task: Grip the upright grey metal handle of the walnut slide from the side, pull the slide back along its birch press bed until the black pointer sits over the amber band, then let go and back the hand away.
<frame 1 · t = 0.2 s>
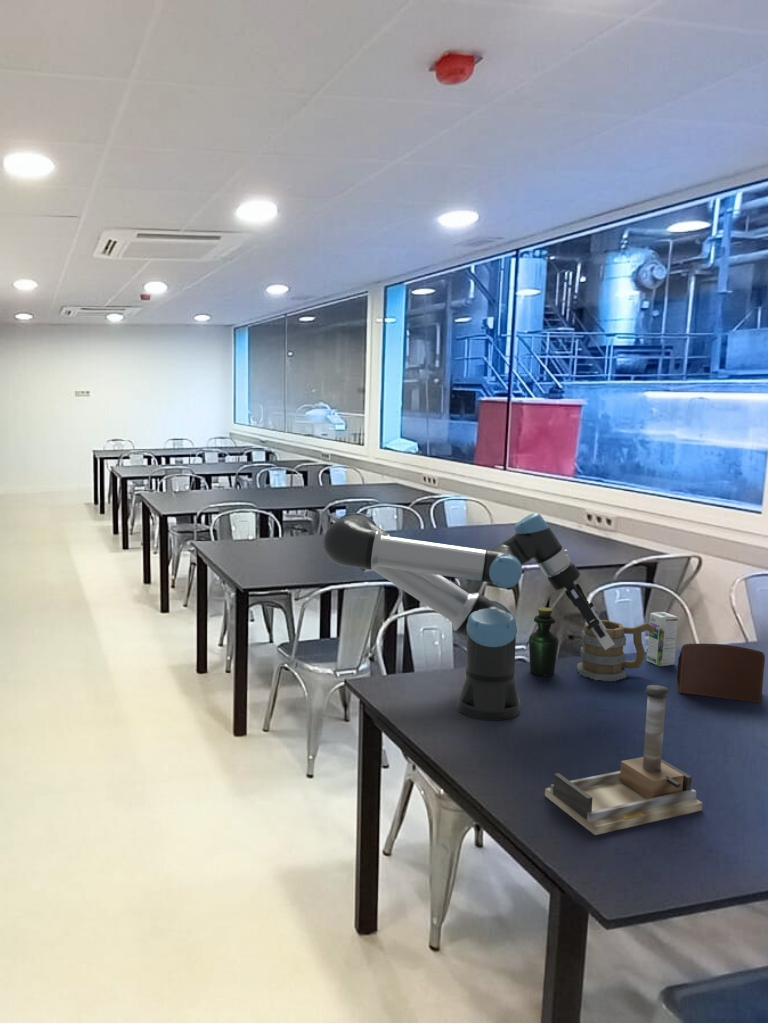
hand: (605, 638, 203), 15 cm above the table, tool tilted 35°, fingers open, 13 cm apart
letter holder: (717, 693, 211), on the table
tankard: (614, 675, 223), on the table
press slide: (658, 741, 150), point 12 cm above the table, slide at 0.0 cm
press bed: (649, 797, 153), on the table
syrup box: (660, 663, 234), on the table
potion bottle: (542, 673, 223), on the table
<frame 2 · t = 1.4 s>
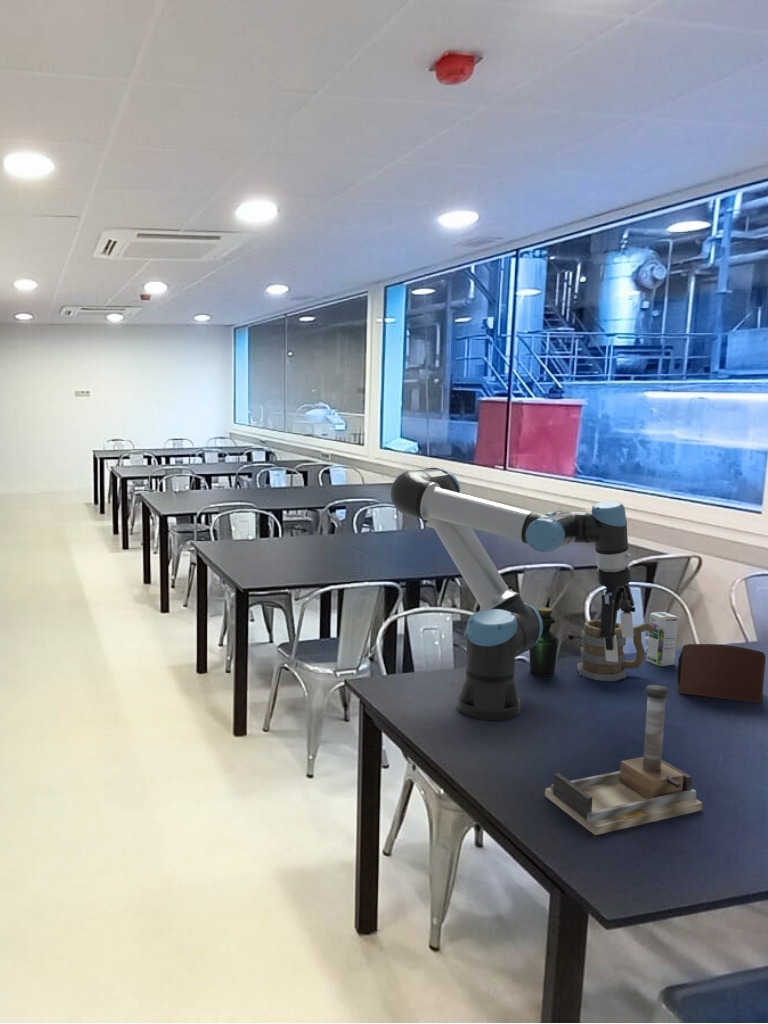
hand: (620, 648, 196), 15 cm above the table, tool pointing down, fingers open, 13 cm apart
nothing on the table moved.
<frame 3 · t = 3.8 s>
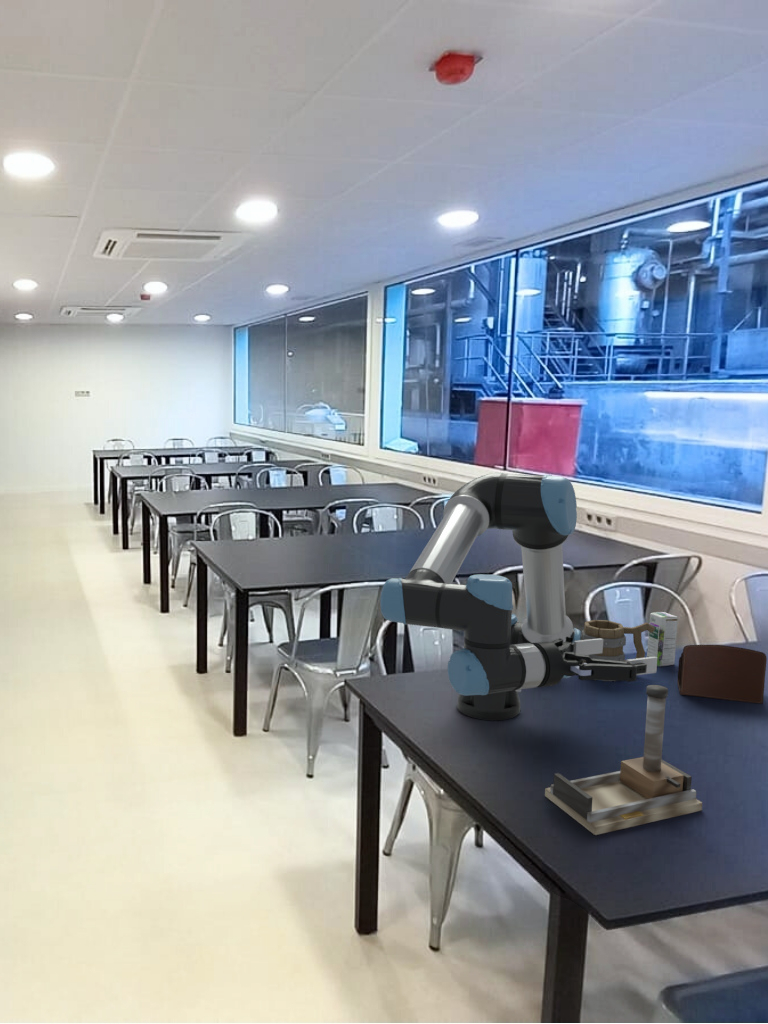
hand: (627, 654, 147), 28 cm above the table, tool horizontal, fingers open, 13 cm apart
nothing on the table moved.
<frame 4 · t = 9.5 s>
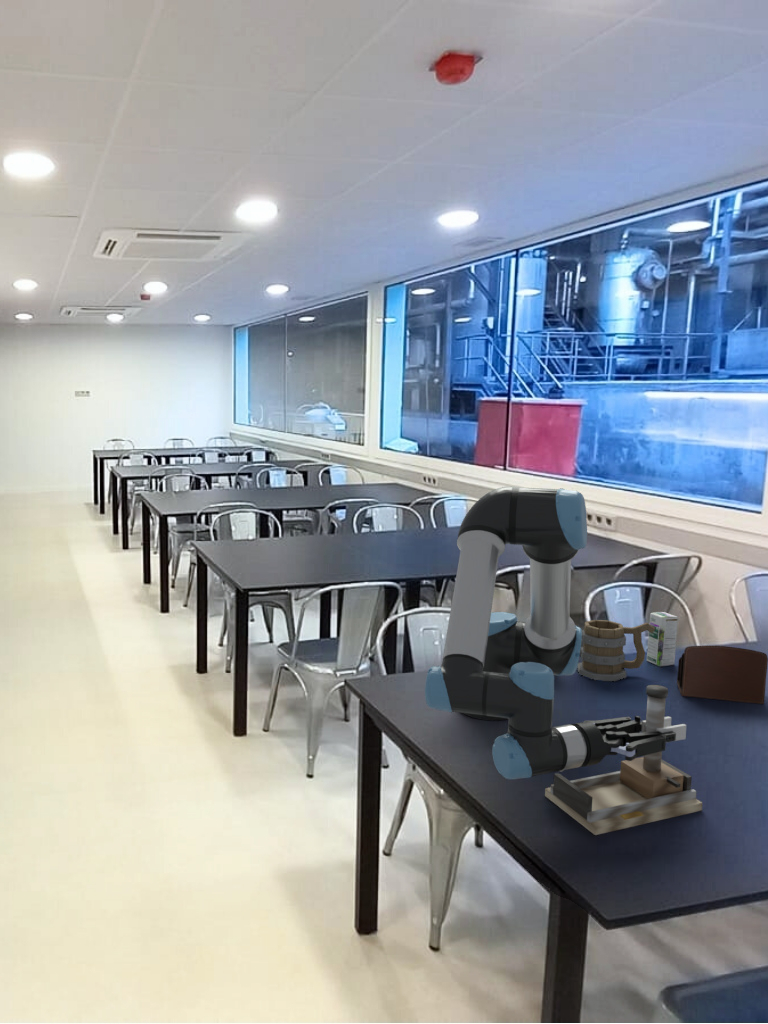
hand: (676, 727, 153), 13 cm above the table, tool horizontal, fingers closed on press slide, 3 cm apart
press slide: (658, 741, 150), point 12 cm above the table, slide at 0.0 cm, touching gripper
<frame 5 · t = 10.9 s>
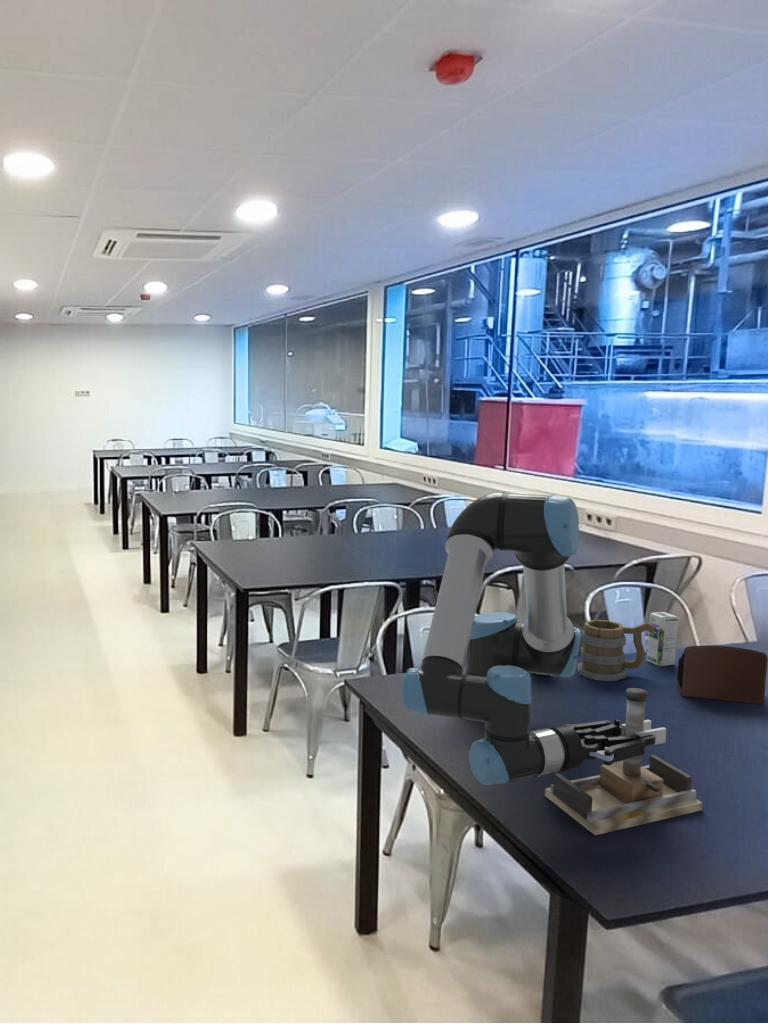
hand: (656, 730, 151), 13 cm above the table, tool horizontal, fingers closed on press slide, 3 cm apart
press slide: (638, 745, 148), point 12 cm above the table, slide at 4.8 cm, touching gripper
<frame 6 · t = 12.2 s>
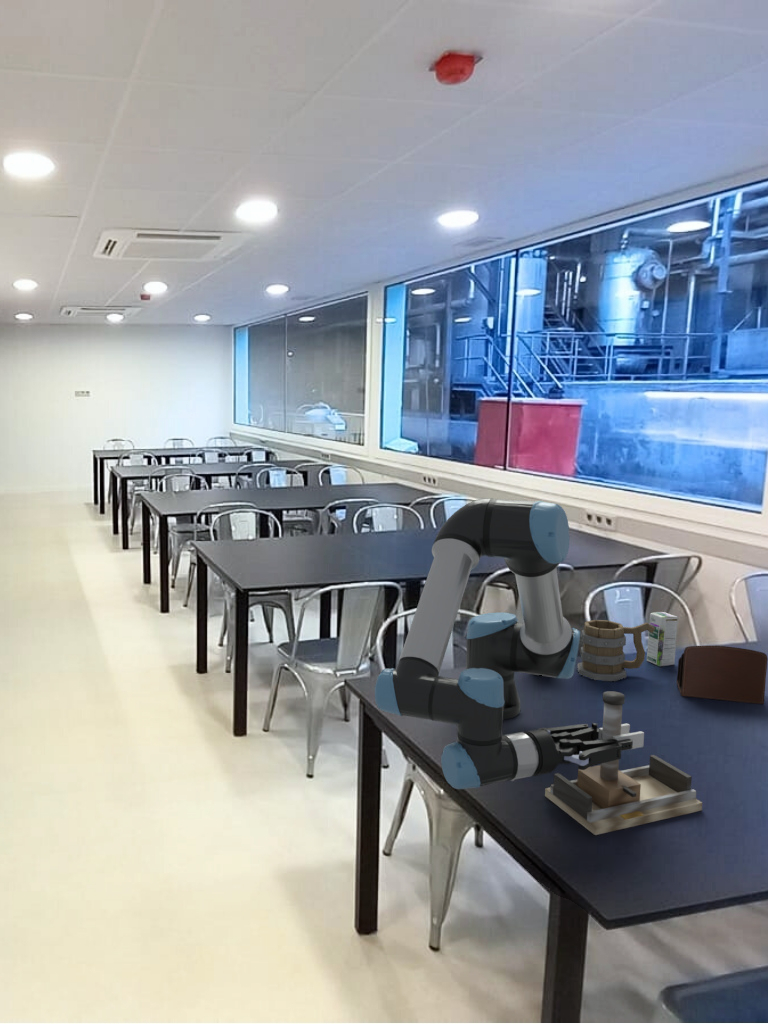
hand: (634, 735, 149), 13 cm above the table, tool horizontal, fingers closed on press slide, 3 cm apart
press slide: (615, 749, 146), point 12 cm above the table, slide at 10.0 cm, touching gripper
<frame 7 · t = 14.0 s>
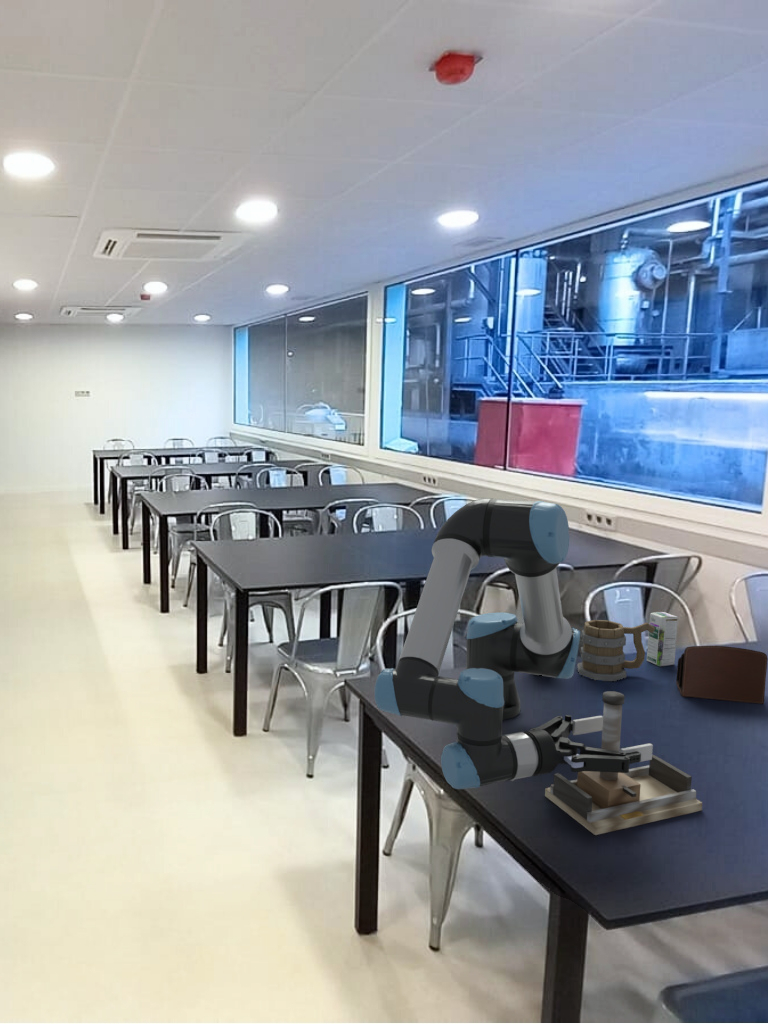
hand: (625, 736, 148), 13 cm above the table, tool horizontal, fingers open, 13 cm apart
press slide: (615, 749, 146), point 12 cm above the table, slide at 10.0 cm
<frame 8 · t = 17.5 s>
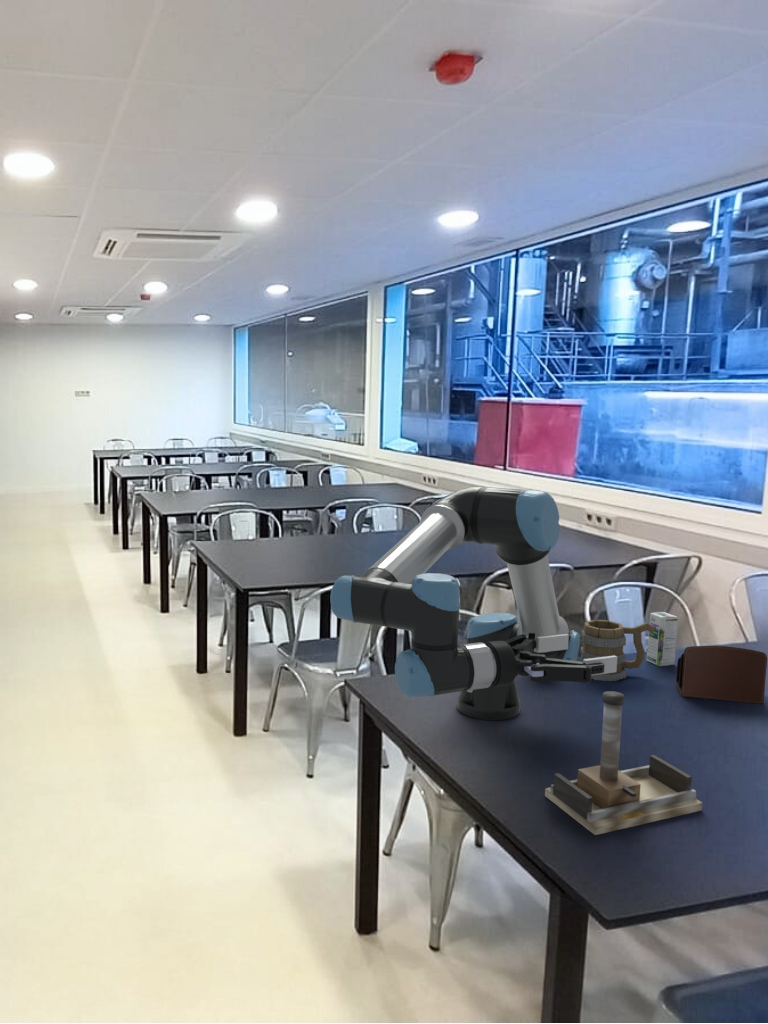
hand: (590, 652, 142), 30 cm above the table, tool horizontal, fingers open, 13 cm apart
at the end: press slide slide at 10.0 cm; the gripper is holding nothing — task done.
